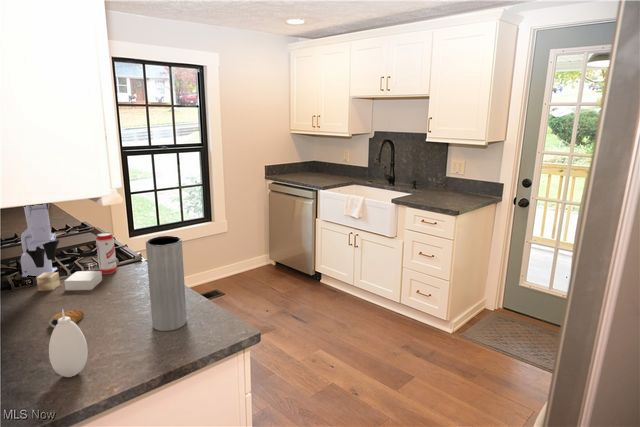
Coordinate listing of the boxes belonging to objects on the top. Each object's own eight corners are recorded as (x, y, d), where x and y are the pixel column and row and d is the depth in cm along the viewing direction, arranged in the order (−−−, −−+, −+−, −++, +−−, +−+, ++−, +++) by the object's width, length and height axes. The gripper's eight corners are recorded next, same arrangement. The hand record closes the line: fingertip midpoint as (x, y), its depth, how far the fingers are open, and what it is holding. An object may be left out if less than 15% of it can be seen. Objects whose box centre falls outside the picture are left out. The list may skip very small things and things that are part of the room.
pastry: (73, 313, 131) (71, 302, 131) (90, 316, 130) (88, 305, 129) (47, 327, 123) (45, 316, 122) (65, 331, 121) (63, 319, 120)
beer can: (120, 269, 167) (116, 232, 164) (111, 275, 161) (107, 236, 157) (105, 268, 168) (101, 231, 164) (96, 274, 162) (91, 236, 158)
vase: (152, 318, 129) (145, 237, 123) (185, 313, 133) (180, 234, 126) (152, 334, 120) (145, 247, 114) (187, 328, 124) (182, 243, 117)
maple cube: (38, 290, 147) (36, 277, 145) (45, 285, 151) (43, 272, 150) (53, 290, 147) (51, 277, 146) (60, 284, 152) (58, 272, 151)
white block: (65, 291, 147) (64, 280, 147) (77, 281, 156) (76, 271, 155) (91, 290, 148) (90, 280, 147) (102, 280, 157) (101, 271, 156)
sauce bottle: (45, 380, 99) (34, 312, 95) (74, 362, 106) (65, 298, 102) (68, 388, 96) (58, 319, 92) (97, 369, 103) (89, 304, 99)
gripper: (41, 232, 137) (47, 270, 141) (62, 221, 151) (67, 256, 155) (19, 233, 136) (25, 271, 140) (42, 221, 150) (47, 256, 154)
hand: (45, 263), depth 147 cm, fingers open, 7 cm apart
